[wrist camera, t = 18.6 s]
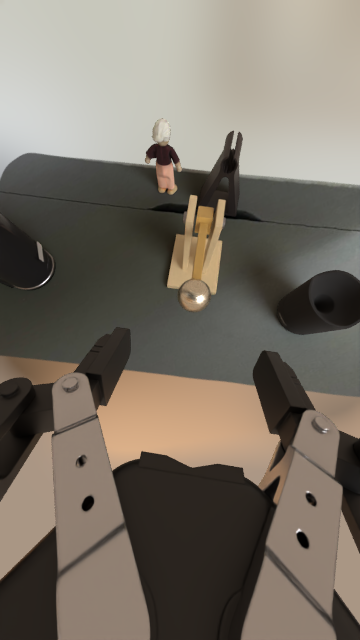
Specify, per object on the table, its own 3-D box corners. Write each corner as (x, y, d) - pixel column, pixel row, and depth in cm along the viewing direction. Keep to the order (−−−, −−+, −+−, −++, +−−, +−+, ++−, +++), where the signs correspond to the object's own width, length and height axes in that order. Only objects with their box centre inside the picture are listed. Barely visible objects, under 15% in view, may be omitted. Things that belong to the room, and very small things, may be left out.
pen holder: (278, 287, 39) (313, 262, 29) (322, 299, 39) (372, 278, 29) (270, 329, 37) (304, 317, 27) (316, 342, 37) (367, 336, 27)
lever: (206, 320, 21) (213, 301, 17) (174, 315, 21) (175, 296, 18) (213, 227, 29) (219, 204, 26) (191, 224, 29) (194, 200, 26)
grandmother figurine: (181, 182, 44) (184, 113, 32) (180, 196, 43) (182, 130, 31) (149, 180, 44) (139, 110, 32) (148, 194, 43) (137, 127, 31)
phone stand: (196, 209, 43) (204, 151, 31) (201, 188, 44) (211, 126, 32) (235, 217, 43) (257, 162, 31) (239, 196, 44) (262, 135, 32)
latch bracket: (214, 295, 38) (238, 255, 24) (167, 287, 38) (162, 243, 24) (221, 244, 41) (245, 180, 26) (176, 237, 41) (177, 170, 27)
